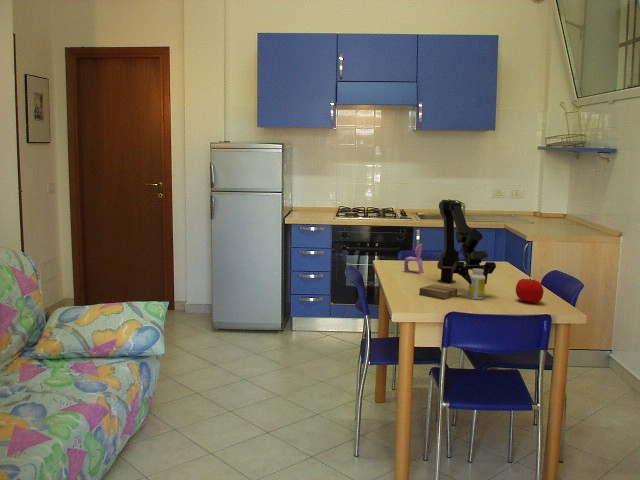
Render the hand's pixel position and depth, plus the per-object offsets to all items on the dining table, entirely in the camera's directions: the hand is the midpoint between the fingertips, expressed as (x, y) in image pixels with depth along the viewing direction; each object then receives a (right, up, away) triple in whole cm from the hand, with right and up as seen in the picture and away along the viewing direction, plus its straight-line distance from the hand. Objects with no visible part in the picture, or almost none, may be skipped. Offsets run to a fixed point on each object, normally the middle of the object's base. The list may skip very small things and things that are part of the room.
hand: (478, 283), depth 306 cm
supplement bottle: (-1, -6, +2) cm, 7 cm away
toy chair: (-21, +2, +55) cm, 59 cm away
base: (-17, -5, +5) cm, 18 cm away
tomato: (+22, -8, 0) cm, 23 cm away
